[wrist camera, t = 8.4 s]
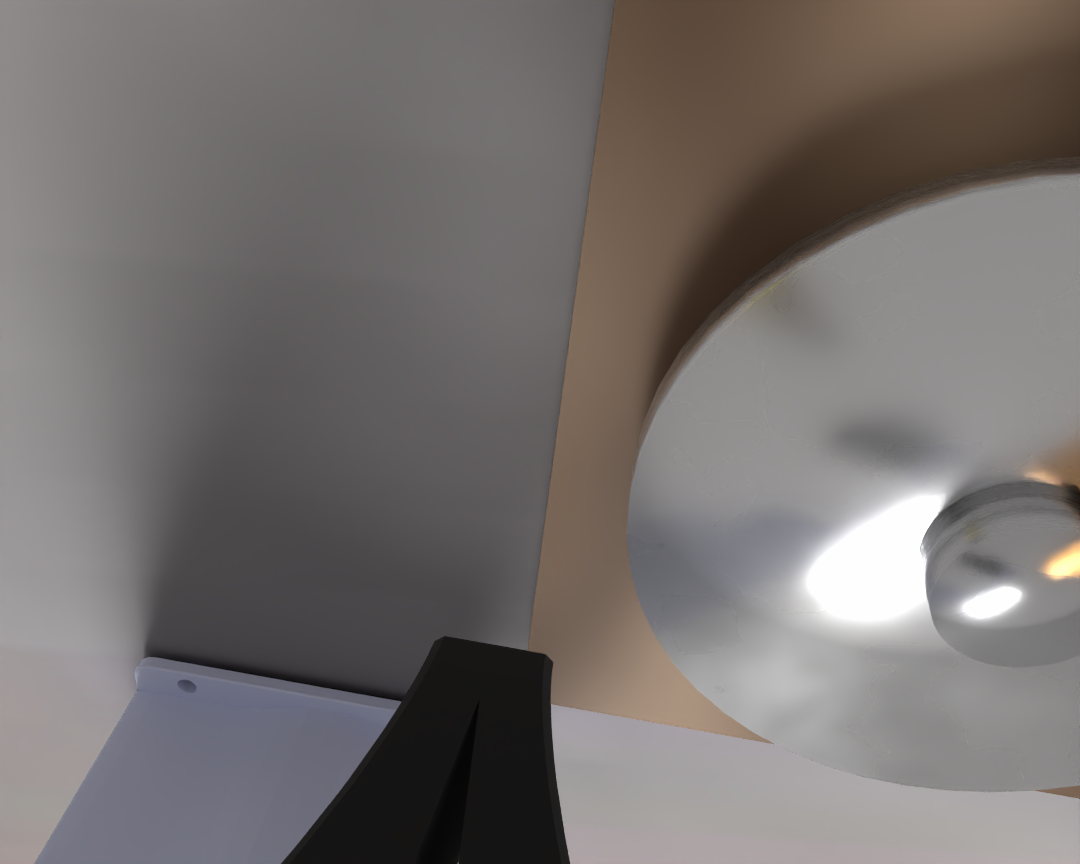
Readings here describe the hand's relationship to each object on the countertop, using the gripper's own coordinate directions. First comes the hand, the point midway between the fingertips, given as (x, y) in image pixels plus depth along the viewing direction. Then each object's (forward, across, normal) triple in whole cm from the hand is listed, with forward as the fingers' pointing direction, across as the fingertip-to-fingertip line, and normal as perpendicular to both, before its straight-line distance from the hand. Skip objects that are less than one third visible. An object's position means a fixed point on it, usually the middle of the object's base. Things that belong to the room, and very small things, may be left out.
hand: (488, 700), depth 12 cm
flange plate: (+7, -8, +1) cm, 11 cm away
